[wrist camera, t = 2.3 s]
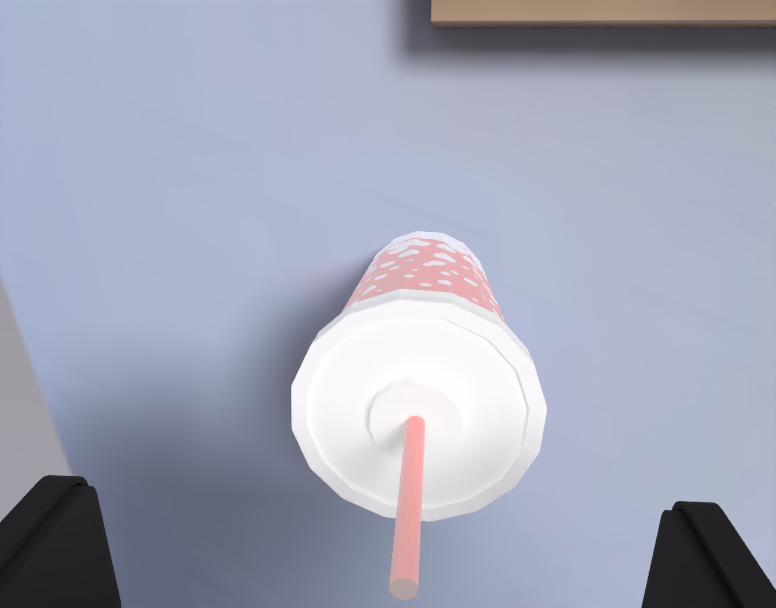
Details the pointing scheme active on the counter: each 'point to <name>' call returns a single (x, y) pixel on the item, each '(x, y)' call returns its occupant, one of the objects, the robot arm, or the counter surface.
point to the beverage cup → (419, 395)
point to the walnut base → (602, 13)
